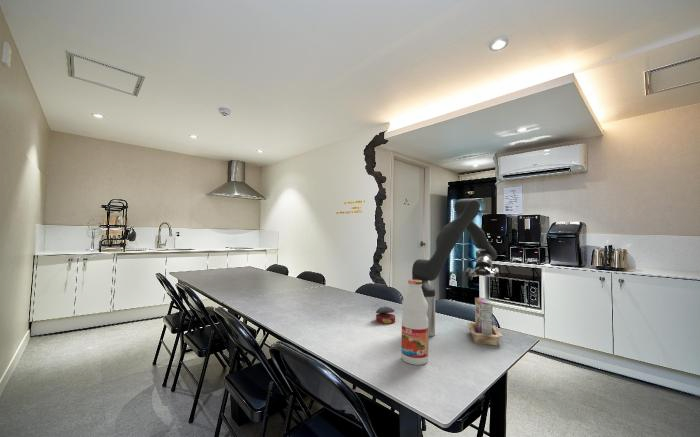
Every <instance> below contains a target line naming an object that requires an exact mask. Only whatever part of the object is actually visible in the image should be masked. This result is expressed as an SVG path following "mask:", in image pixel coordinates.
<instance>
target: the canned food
mask: <svg viewBox="0 0 700 437" xmlns="http://www.w3.org/2000/svg"><path fill="white" fill-rule="evenodd" d="M375 313H376V314H375V321H376V323H378V324H382V325H393V324H395V323H396V315H394V313H395V309H393V308H392V307H389V306H383V307H381V306H380V307H379V308H378V309H377V310H376V311H375Z"/></svg>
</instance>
